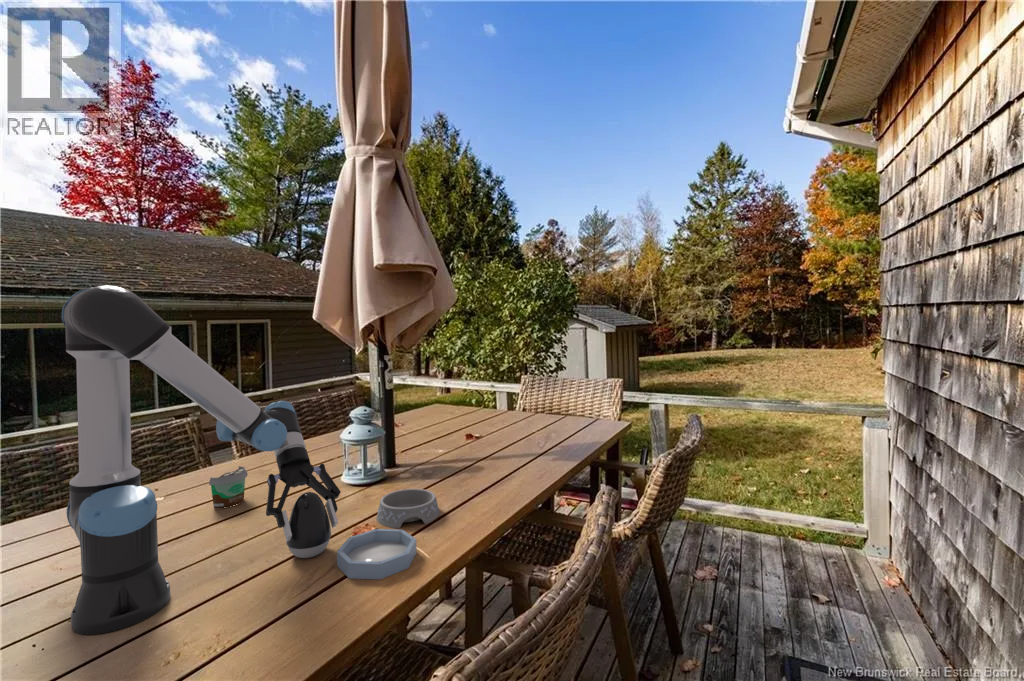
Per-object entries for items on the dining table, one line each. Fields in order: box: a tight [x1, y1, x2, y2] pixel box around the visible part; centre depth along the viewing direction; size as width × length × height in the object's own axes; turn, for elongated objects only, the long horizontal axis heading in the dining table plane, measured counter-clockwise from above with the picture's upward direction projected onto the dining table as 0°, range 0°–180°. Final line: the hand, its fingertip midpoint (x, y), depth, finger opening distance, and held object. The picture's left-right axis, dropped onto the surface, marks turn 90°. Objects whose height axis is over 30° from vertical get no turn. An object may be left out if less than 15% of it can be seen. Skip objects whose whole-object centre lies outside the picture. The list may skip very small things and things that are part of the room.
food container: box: [208, 465, 249, 509], centre depth 146 cm, size 12×6×10 cm, turn 168°
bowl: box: [336, 528, 417, 580], centre depth 112 cm, size 17×17×4 cm
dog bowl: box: [376, 488, 440, 529], centre depth 138 cm, size 17×18×5 cm
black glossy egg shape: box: [285, 491, 332, 559], centre depth 115 cm, size 10×10×15 cm
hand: (312, 531), depth 113 cm, fingers open, 10 cm apart
